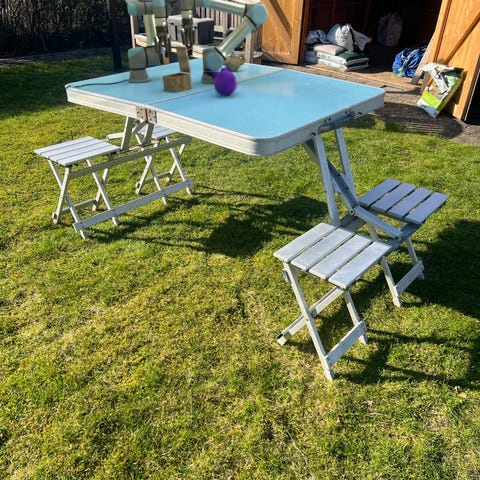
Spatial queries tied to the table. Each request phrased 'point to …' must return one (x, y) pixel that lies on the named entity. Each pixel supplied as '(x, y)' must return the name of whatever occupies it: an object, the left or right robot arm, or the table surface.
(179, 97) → the table surface
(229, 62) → the teapot
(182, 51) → the lid
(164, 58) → the block
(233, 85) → the toy
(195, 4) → the right robot arm
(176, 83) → the chest
